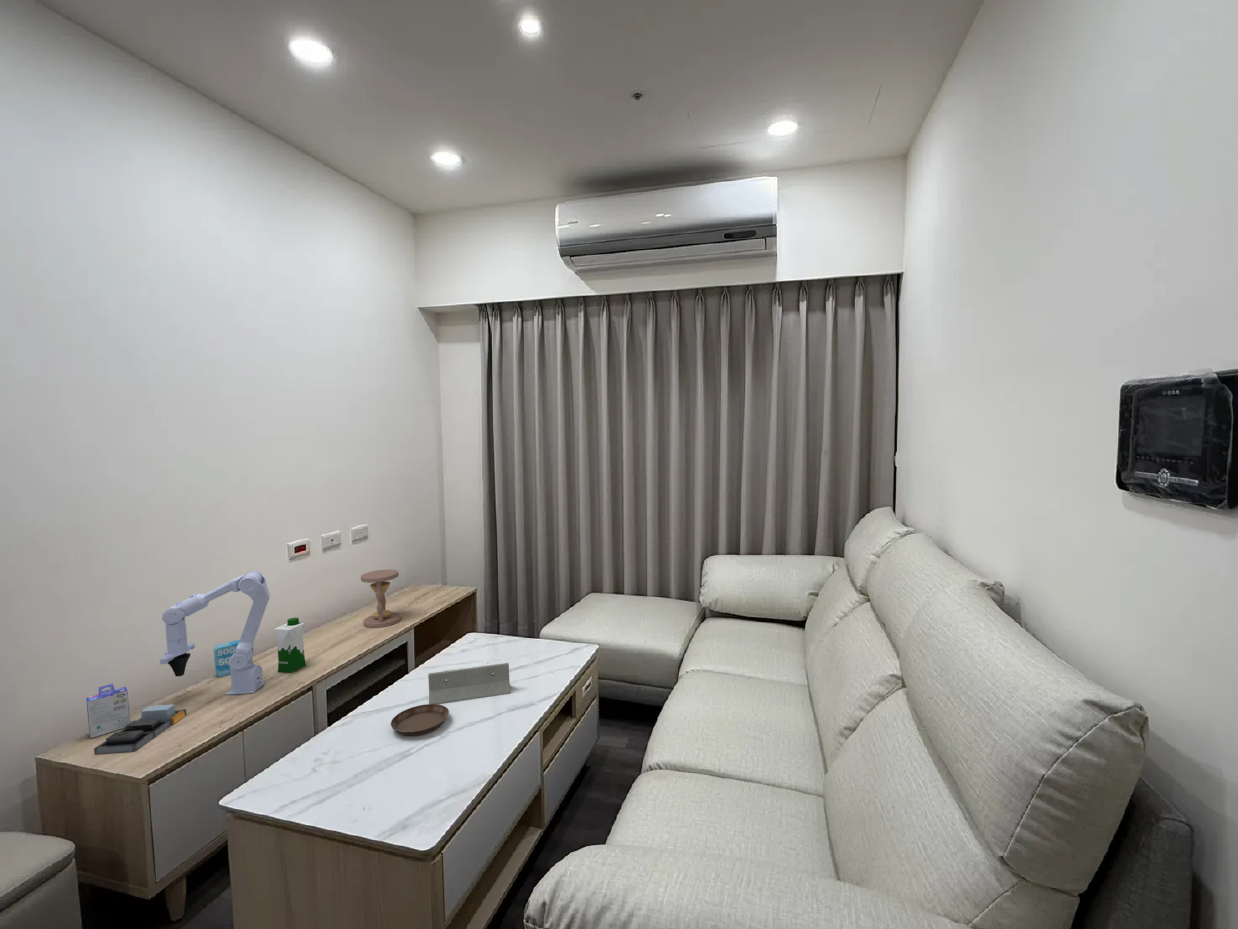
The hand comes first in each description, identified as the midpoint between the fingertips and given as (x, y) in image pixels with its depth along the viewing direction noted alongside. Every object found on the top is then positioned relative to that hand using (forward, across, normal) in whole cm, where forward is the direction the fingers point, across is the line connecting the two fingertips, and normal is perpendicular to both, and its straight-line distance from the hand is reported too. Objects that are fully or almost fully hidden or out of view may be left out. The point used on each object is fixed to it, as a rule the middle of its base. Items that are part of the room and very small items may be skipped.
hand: (179, 675), depth 197 cm
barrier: (+10, +11, +105) cm, 106 cm away
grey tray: (+9, +22, +3) cm, 24 cm away
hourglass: (+10, -76, +45) cm, 89 cm away
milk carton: (+10, -23, +27) cm, 37 cm away
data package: (+10, -24, +4) cm, 26 cm away
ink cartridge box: (+10, +18, -10) cm, 23 cm away
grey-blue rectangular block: (+10, +15, +3) cm, 18 cm away
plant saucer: (+10, +30, +93) cm, 98 cm away
